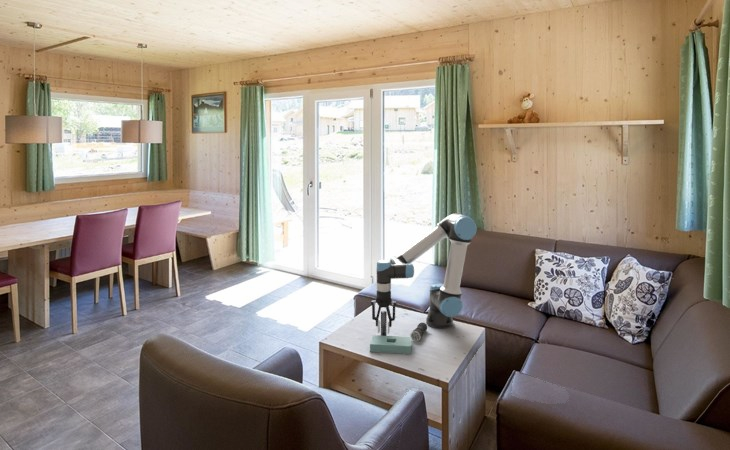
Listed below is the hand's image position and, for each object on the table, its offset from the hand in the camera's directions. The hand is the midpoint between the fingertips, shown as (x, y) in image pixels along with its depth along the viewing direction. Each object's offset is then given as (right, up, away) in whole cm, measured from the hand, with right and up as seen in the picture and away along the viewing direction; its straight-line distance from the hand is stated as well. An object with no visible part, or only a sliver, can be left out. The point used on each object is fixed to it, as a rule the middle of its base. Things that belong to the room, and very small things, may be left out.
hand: (383, 332), depth 235 cm
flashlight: (+19, -3, +2) cm, 19 cm away
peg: (0, -3, 0) cm, 3 cm away
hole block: (+3, -5, -13) cm, 14 cm away
